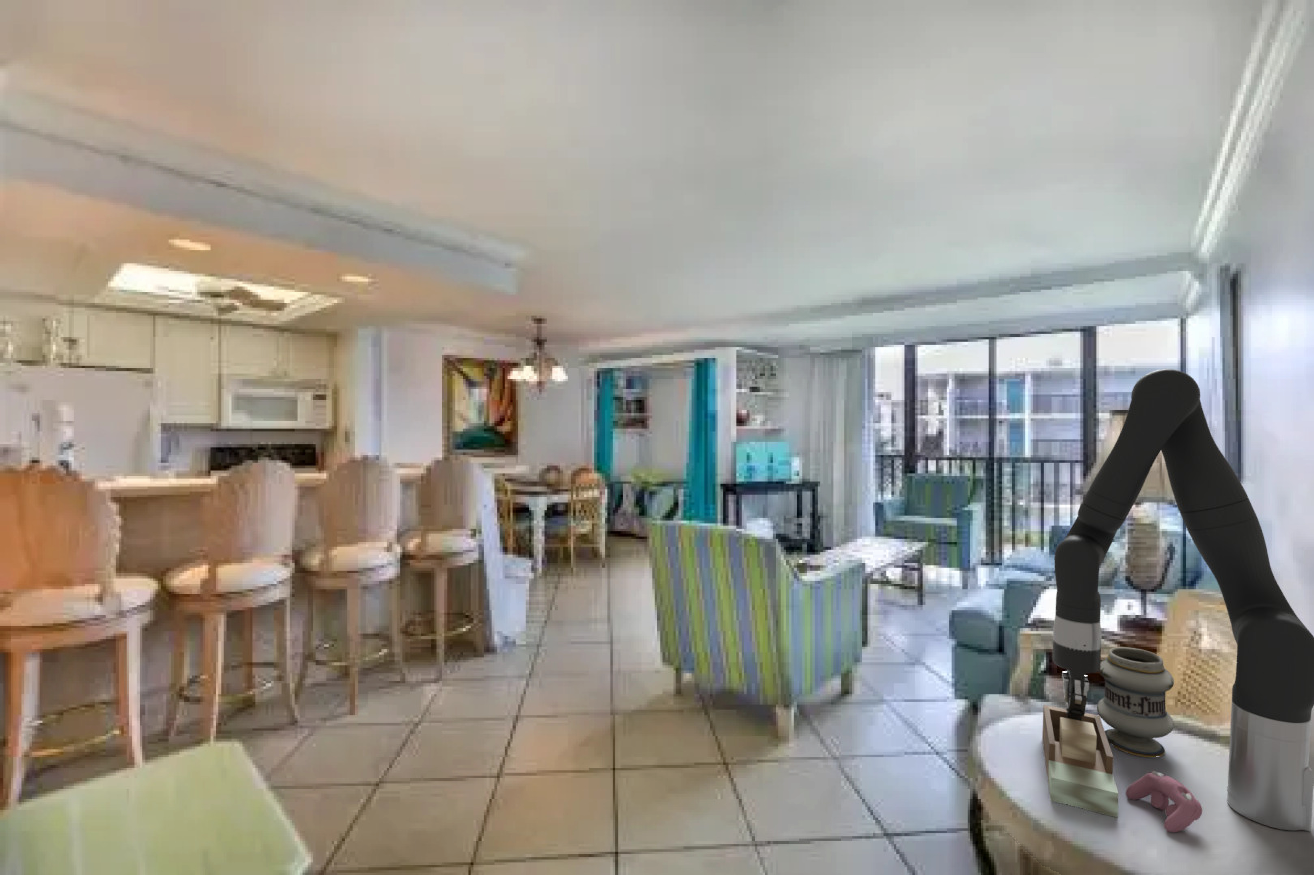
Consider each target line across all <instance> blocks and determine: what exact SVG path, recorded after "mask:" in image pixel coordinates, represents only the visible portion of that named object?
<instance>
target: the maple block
mask: <svg viewBox="0 0 1314 875" xmlns="http://www.w3.org/2000/svg"><path fill="white" fill-rule="evenodd" d="M1096 740H1097V735H1096V732H1095V729H1094V725H1093V723H1089V722H1084V721H1079V720H1074V719H1069V718H1064V717H1060V738H1059V744H1060V750H1061V755H1062V757H1067V758H1071V759H1076V760H1080V761H1085V762H1089V763H1094V764H1096Z"/></svg>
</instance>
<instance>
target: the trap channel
mask: <svg viewBox="0 0 1314 875" xmlns="http://www.w3.org/2000/svg"><path fill="white" fill-rule="evenodd" d="M1042 710H1043V711H1042V713H1043V714H1042V738H1041V741H1042V747H1043V754H1044V761H1045V762H1044V763H1045V769H1046V776H1047V785H1048V791H1049V792H1048V793H1049V798H1050V799H1049V800H1050V802H1054V803H1058V804H1062V803H1063V804H1062V805H1066V804H1068V805H1067V806H1070V805H1071V807H1074V806H1075V808H1078V807H1080V808H1079V809H1082V808H1083V809H1082V810H1086V811H1090V812H1094V813H1098V812H1099V813H1098V814H1102V815H1106V816H1110V817H1114V818H1119V816H1118V814H1119V791H1118V787H1117V785H1116V781H1115V778H1114V774H1113V771H1114V755H1113V753H1112V749H1111V747H1110V743H1108V740H1107V737H1106V734H1105V731H1106V730H1105V727H1104V725H1103V722H1102V718H1101V717H1100V716H1099V714H1098V715H1097V714H1093V713H1087V712H1085V714H1084V716H1082V720H1081V721H1084V722H1089V723H1093V725H1094V729H1095V732H1096V735H1097V740H1096V764H1094V763H1089V762H1085V761H1080V760H1076V759H1071V758H1067V757H1062V755H1061V750H1060V744H1059V738H1060V717H1064V718H1067V711H1066V708H1061V707H1057V706H1051V705H1046V704H1043V707H1042Z"/></svg>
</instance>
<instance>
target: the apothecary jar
mask: <svg viewBox="0 0 1314 875" xmlns="http://www.w3.org/2000/svg"><path fill="white" fill-rule="evenodd" d="M1098 672H1099V674H1100V676H1102V678H1104V697H1102V698H1101V699H1100V700H1099V701H1098V702H1097V705H1096V711H1097V714H1098V715H1099V716H1100V719H1101V720H1103V722H1104V723H1106V725H1108V726H1110V728H1109V729H1106V730H1104V731H1105V734H1106V737H1107V740H1108V743H1109V745H1112V747H1114V748H1115V749H1117V750H1119V751H1121V752H1123V753H1127V754H1130V755H1133V756H1137V757H1141V758H1142V757H1143V758H1149V757H1155V758H1157V757H1156V756H1160V757H1162V755H1163V756H1164V755H1165V754H1166V749H1165V747H1164V746H1163V744H1161V743H1160V742H1159V741H1157V740H1156V739H1158V738H1163V737H1166V736H1168V735H1169V734H1171V733H1172V731H1173V730H1174V727H1175V724H1174V720H1173V718H1172V716H1171V715H1170V713H1169V712H1168V711H1167V710H1166V709H1167V708H1166V707H1167V706H1166V694H1167V693H1166V692H1168V691H1170V690H1171V689H1173V687H1174V684H1175V679H1174V677H1173V674H1171V672H1170V671H1168V670H1167V668H1165V665H1164V660H1163V658H1162V657H1161V656H1160V655H1158V654H1156V653H1155V652H1152V651H1148V650H1144V649H1141V648H1134V647H1125V646H1117V647H1112V648H1110V649H1109V651H1108V654H1107V657H1105V658H1103V659H1102V660H1101V663H1100V670H1099V671H1098ZM1164 753H1165V754H1164Z"/></svg>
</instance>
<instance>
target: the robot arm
mask: <svg viewBox="0 0 1314 875" xmlns="http://www.w3.org/2000/svg"><path fill="white" fill-rule="evenodd" d="M1130 399H1131V400H1130V403H1129V407H1128V411H1127V414H1126V417H1125V421H1124V423H1123V425H1122V428H1121V430H1120V433H1119V435H1118V437H1117V440H1115V441H1116V442H1115V443H1114V446H1113V447H1112V449H1111V451H1110V453H1109V454H1108V456H1107V457H1106V459H1105V461H1104V463H1103V464H1102V466H1100V469H1099V471H1097V474H1096V476H1095V477H1094V479H1093V481H1092V482H1091V484H1090V486H1089V488H1088V490H1087V492H1086V493H1085V496H1084V497H1083V499H1082V502H1081V503H1080V506H1079V508H1078V511H1077V517H1076V519H1075V520H1074V521H1073V522H1074V523H1073V524H1072V525H1071V527H1070V529H1069V531H1068V533H1067V534H1066V536H1065V537H1064V539H1063V540H1061V541H1060V542H1059V543H1058V545H1057V546H1056V549H1055V551H1054V576H1055V583H1056V595H1055V613H1054V614H1055V615H1054V623H1053V629H1052V630H1053V632H1052V633H1053V635H1052V657H1051V658H1052V662H1053V663H1054V664H1055V665H1056V666H1058V667H1060V668H1061V669H1064V670H1065V671H1062V672H1061V673H1062V674H1061V678H1062V682H1063V688H1062V689H1063V693H1062V694H1063V696H1064V701H1065V705H1064V706H1065V709H1066V711H1067V718H1069V719H1074V720H1079V721H1081V720H1082V716H1084V714H1085V713H1086V712H1085V711H1086V707H1087V702H1088V691H1089V690H1090V680H1088V675H1086V674H1094V673H1097V672H1099V670H1100V663H1101V661H1102V660H1101V658H1102V627H1101V612H1102V611H1101V610H1102V609H1101V607H1102V600H1101V595H1100V592H1099V576H1100V566H1101V565H1102V564H1103V561H1104V560H1105V557H1106V556H1107V554H1108V552H1109V549H1110V548H1111V546H1112V543H1113V541H1114V538H1116V537H1115V536H1116V534H1117V533H1118V532H1117V531H1119V529H1120V528H1121V527H1122V526H1123V524H1124V522H1125V521H1126V519H1127V517H1128V515H1129V514H1130V512H1131V510H1132V508H1133V506H1134V505H1135V503H1136V500H1137V498H1138V496H1139V495H1140V493H1141V490H1142V488H1143V486H1144V484H1145V482H1146V480H1147V477H1148V475H1149V474H1150V472H1151V469H1152V467H1153V464H1154V463H1155V461H1156V459H1157V458H1158V456H1159V454H1160V453H1161V454H1162V456H1163V460H1164V462H1165V463H1164V464H1165V468H1166V471H1167V475H1168V480H1169V484H1170V487H1171V491H1172V494H1173V498H1174V500H1175V504H1176V506H1177V508H1178V511H1179V513H1180V514H1179V515H1181V518H1182V521H1183V522H1184V525H1185V528H1186V530H1187V532H1188V534H1189V536H1190V537H1191V539H1192V541H1193V543H1194V545H1195V547H1196V548H1197V551H1198V552H1199V554H1200V556H1201V557H1202V559H1203V560H1204V562H1205V563H1206V565H1207V567H1208V569H1209V570H1210V572H1211V574H1212V575H1213V576H1214V578H1215V580H1216V582H1217V584H1218V587H1219V589H1220V592H1221V595H1222V598H1223V601H1224V605H1225V608H1226V611H1227V614H1228V617H1229V621H1230V625H1231V631H1232V634H1233V635H1232V636H1233V637H1234V640H1235V642H1236V645H1237V646H1236V665H1235V680H1234V682H1233V685H1232V688H1231V689H1232V690H1231V691H1232V692H1231V706H1230V707H1231V709H1230V710H1231V711H1230V731H1229V732H1230V733H1229V734H1230V735H1229V751H1228V752H1229V753H1228V773H1227V787H1226V791H1227V794H1226V796H1227V799H1226V801H1227V803H1228V805H1229V806H1230V807H1231V809H1233V811H1236V813H1238V814H1240V815H1241V816H1243V817H1245V818H1247V819H1249V820H1251V821H1254V822H1255V823H1259V824H1261V825H1264V826H1267V827H1270V828H1275V829H1278V830H1286V831H1301V830H1303V831H1306V832H1312V820H1313V819H1312V818H1313V799H1314V770H1313V769H1311V767H1310V766H1309V763H1310V762H1309V759H1310V758H1309V756H1310V744H1311V743H1310V742H1311V740H1310V739H1311V721H1312V709H1313V708H1314V635H1313V634H1312V632H1310V630H1309V629H1308V628H1307V626H1306V625H1305V624H1304V622H1302V621H1301V619H1300V618H1299V617H1298V616H1297V614H1296V613H1295V611H1294V609H1293V608H1292V607H1291V606H1292V605H1290V602H1288V599H1287V598H1286V596H1285V594H1284V592H1283V591H1282V589H1281V587H1280V586H1279V584H1278V581H1277V580H1276V578H1275V575H1274V573H1273V569H1272V566H1271V563H1270V557H1269V553H1268V549H1267V548H1268V547H1267V544H1266V540H1265V536H1264V533H1263V530H1262V526H1261V524H1260V521H1259V518H1258V515H1257V513H1256V511H1255V510H1254V507H1253V505H1252V503H1251V500H1250V498H1249V495H1248V494H1247V491H1246V490H1245V488H1244V487H1243V484H1242V482H1241V481H1240V479H1239V477H1238V476H1237V474H1236V472H1235V471H1234V469H1233V468H1232V466H1231V465H1230V463H1229V462H1228V460H1227V459H1226V457H1225V456H1224V454H1223V453H1222V451H1221V450H1220V449H1219V447H1218V445H1217V444H1216V441H1215V440H1214V438H1213V436H1212V433H1211V431H1210V427H1209V424H1208V422H1207V419H1206V416H1205V413H1204V408H1203V405H1202V402H1201V390H1200V387H1199V385H1198V383H1197V382H1196V380H1195V379H1194V378H1193V377H1192V376H1191V375H1189V374H1188V373H1187V372H1184V371H1181V370H1178V369H1173V368H1163V369H1156V370H1154V371H1150V372H1149V373H1146V374H1145V375H1143V376H1142V377H1140V378H1139V379H1138V381H1136V383H1135V384H1134V385H1133V388H1132V390H1131V398H1130Z"/></svg>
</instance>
